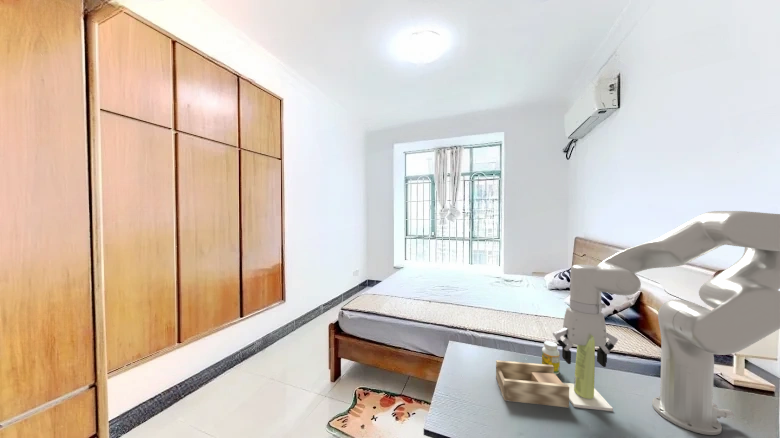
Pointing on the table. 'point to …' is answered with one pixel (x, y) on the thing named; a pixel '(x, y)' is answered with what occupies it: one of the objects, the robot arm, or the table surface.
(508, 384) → the tray
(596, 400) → the tile
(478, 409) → the table surface
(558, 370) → the supplement bottle
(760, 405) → the table surface
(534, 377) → the offcut top
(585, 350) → the tube
